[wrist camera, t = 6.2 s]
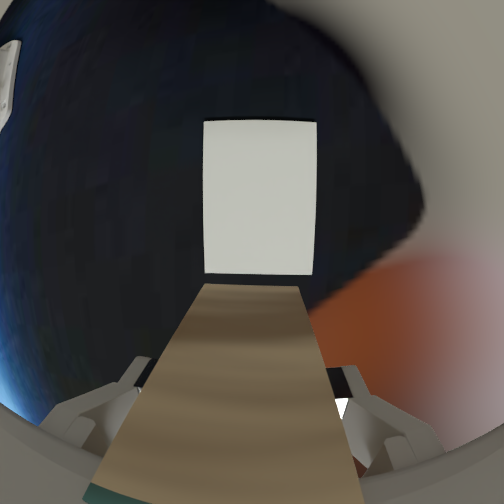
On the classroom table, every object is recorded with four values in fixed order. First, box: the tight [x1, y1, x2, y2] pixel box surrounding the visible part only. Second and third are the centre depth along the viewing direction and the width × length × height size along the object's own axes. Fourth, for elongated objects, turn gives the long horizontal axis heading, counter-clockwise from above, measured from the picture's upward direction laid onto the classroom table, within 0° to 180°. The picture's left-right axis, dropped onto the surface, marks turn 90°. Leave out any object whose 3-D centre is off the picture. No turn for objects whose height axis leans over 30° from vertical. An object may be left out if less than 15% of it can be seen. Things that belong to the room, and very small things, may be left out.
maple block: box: [82, 284, 365, 504], centre depth 7 cm, size 4×4×10 cm
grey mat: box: [203, 120, 317, 275], centre depth 24 cm, size 14×10×1 cm
